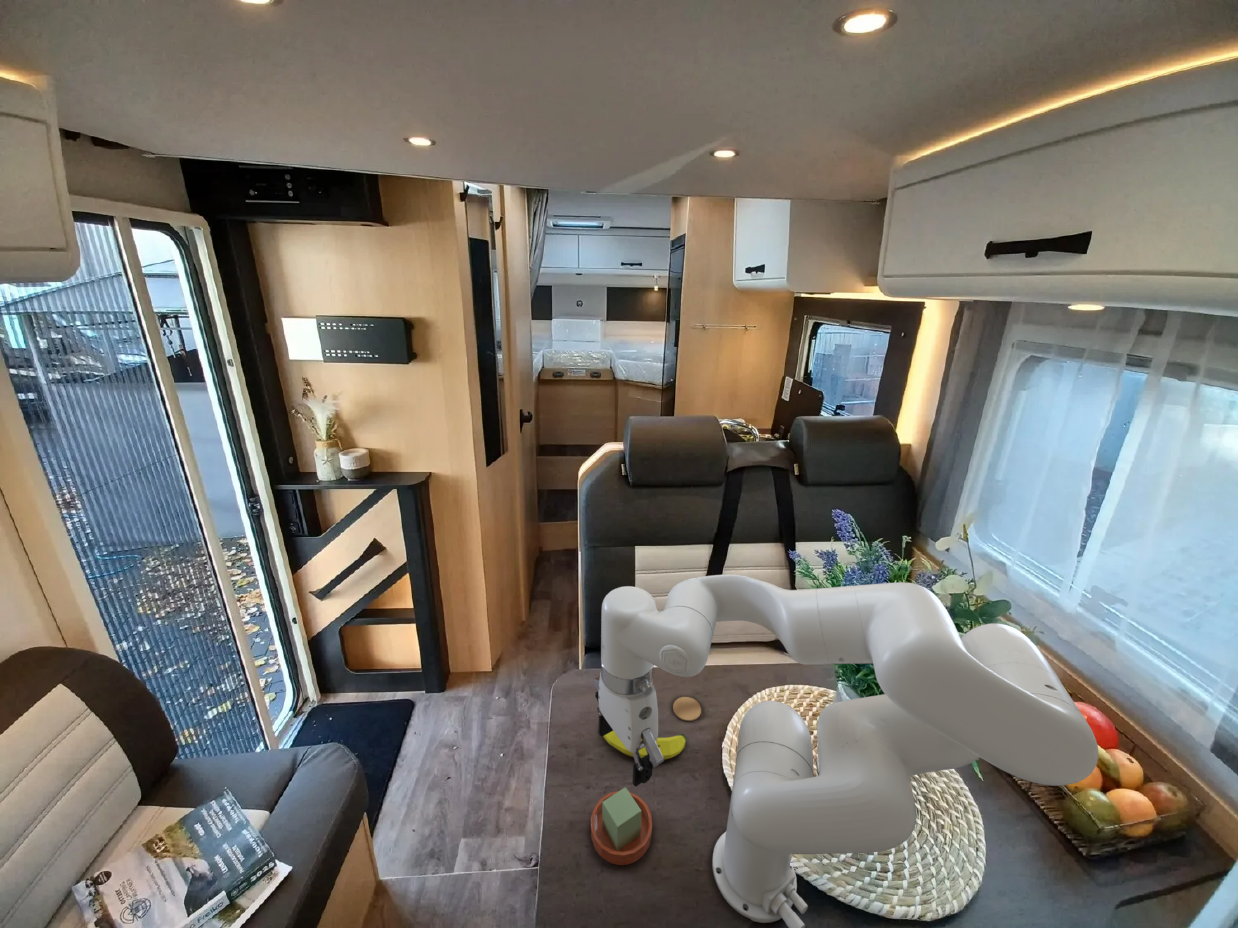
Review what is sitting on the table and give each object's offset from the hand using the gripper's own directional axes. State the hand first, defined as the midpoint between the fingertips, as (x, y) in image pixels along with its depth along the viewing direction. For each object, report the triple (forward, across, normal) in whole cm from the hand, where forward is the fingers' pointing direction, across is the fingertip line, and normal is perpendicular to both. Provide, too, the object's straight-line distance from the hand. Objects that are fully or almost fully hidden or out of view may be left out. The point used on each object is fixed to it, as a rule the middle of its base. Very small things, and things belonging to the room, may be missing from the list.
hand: (624, 754), depth 75 cm
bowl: (+17, -1, +1) cm, 17 cm away
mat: (+17, +12, -25) cm, 32 cm away
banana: (+17, +13, -13) cm, 25 cm away
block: (+16, -1, +1) cm, 16 cm away
